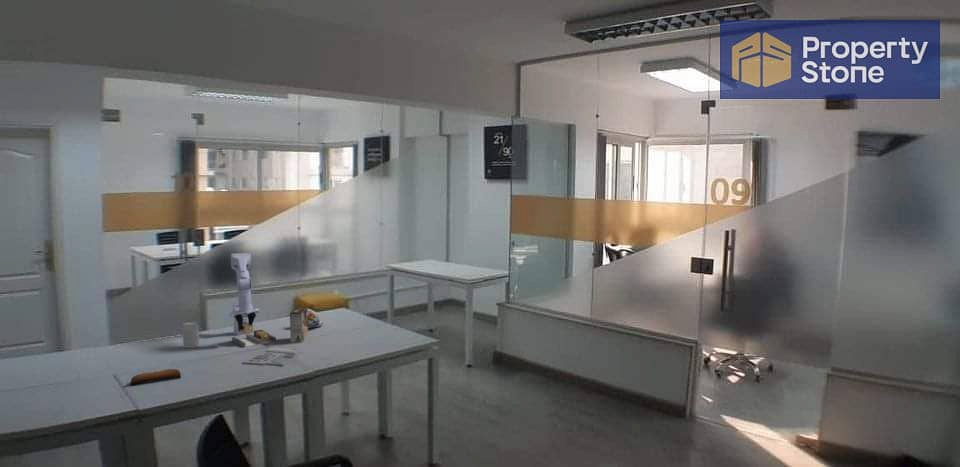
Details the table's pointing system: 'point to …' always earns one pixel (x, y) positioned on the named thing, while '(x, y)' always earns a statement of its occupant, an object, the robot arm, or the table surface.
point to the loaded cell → (261, 335)
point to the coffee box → (299, 325)
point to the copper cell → (246, 328)
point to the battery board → (251, 340)
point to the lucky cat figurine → (313, 319)
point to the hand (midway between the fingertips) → (245, 328)
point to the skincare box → (190, 335)
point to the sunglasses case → (155, 376)
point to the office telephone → (273, 357)
